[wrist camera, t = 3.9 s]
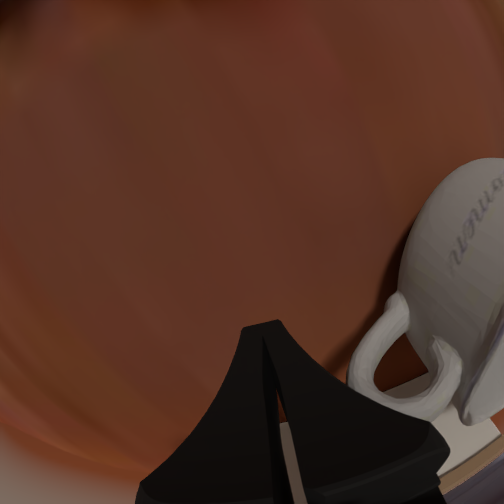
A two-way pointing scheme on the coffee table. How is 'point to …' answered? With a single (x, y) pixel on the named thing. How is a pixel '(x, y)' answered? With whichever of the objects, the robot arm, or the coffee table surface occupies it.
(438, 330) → the teacup
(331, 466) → the robot arm
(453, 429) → the cream slab
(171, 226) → the coffee table surface
